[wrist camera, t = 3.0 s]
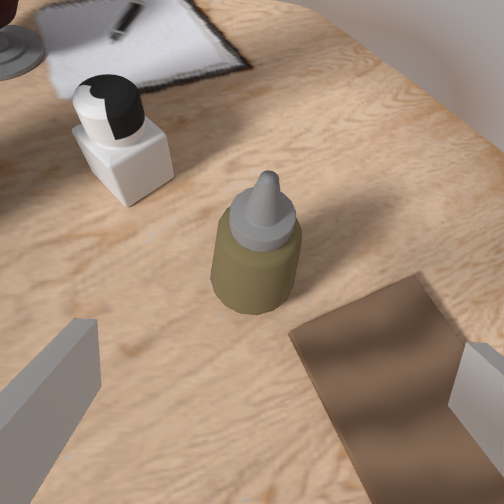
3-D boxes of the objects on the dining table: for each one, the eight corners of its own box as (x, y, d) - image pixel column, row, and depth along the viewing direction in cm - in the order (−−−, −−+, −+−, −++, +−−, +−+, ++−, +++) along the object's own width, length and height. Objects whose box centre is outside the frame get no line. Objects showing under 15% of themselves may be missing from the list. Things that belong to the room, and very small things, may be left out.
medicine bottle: (141, 144, 45) (114, 55, 34) (175, 177, 42) (159, 93, 32) (92, 173, 42) (47, 86, 31) (127, 209, 40) (91, 129, 29)
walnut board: (288, 334, 34) (290, 330, 33) (407, 280, 38) (414, 275, 37) (405, 571, 27) (415, 578, 25) (541, 474, 30) (556, 476, 29)
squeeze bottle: (200, 312, 35) (180, 213, 19) (225, 245, 39) (225, 116, 23) (277, 335, 34) (323, 254, 18) (295, 265, 38) (345, 147, 22)
